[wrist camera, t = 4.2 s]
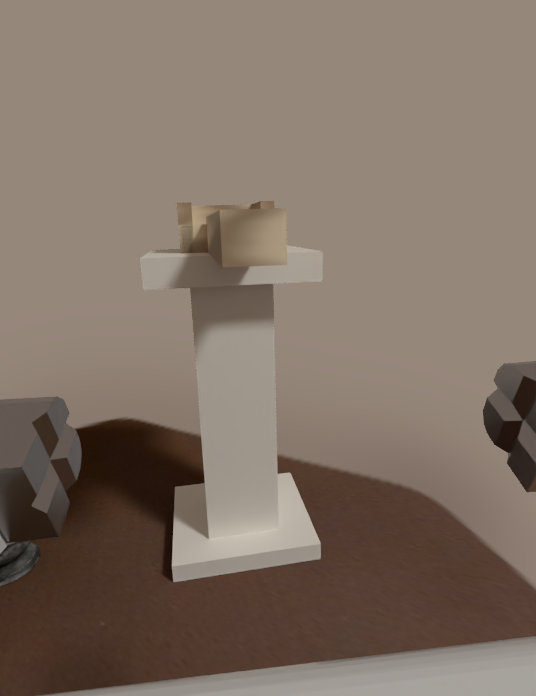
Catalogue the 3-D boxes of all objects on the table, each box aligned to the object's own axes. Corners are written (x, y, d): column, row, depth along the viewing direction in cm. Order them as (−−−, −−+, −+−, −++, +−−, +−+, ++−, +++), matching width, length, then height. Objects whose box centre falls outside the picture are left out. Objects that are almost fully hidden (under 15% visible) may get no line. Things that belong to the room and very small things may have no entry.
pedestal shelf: (173, 582, 34) (139, 258, 28) (176, 499, 45) (152, 250, 38) (320, 558, 36) (322, 251, 30) (290, 485, 47) (286, 245, 40)
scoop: (177, 269, 19) (170, 185, 18) (181, 249, 37) (178, 206, 36) (328, 263, 21) (329, 183, 20) (261, 246, 39) (260, 205, 38)
